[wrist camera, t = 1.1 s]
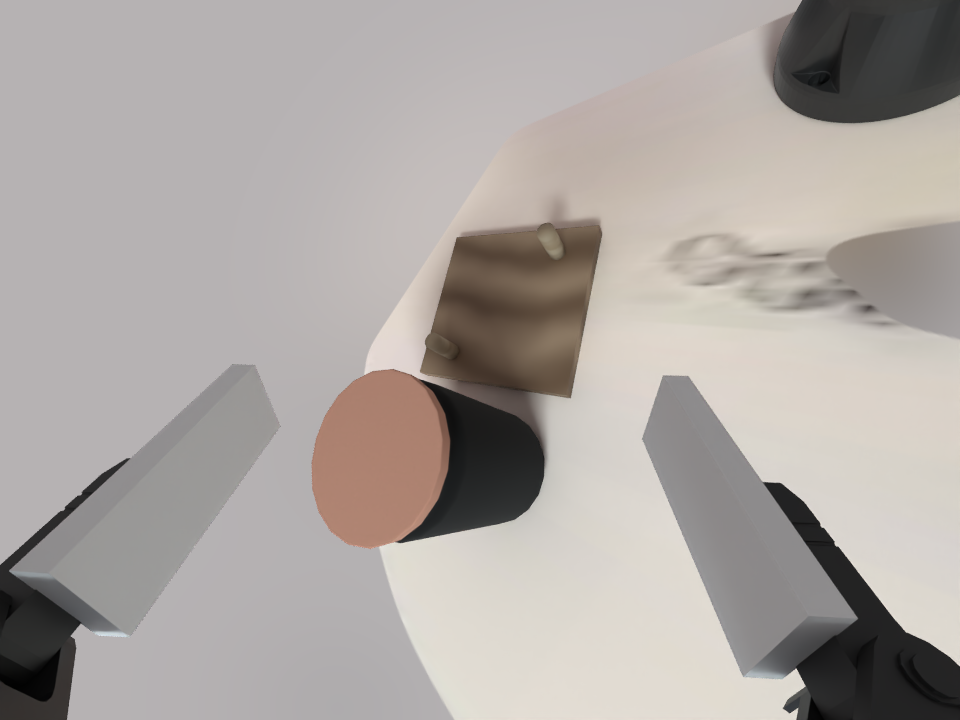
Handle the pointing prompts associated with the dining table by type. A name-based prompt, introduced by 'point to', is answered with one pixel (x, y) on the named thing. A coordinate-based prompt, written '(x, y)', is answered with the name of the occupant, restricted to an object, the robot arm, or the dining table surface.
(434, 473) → the coffee jar
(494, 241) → the pegged base plate
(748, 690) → the dining table surface
